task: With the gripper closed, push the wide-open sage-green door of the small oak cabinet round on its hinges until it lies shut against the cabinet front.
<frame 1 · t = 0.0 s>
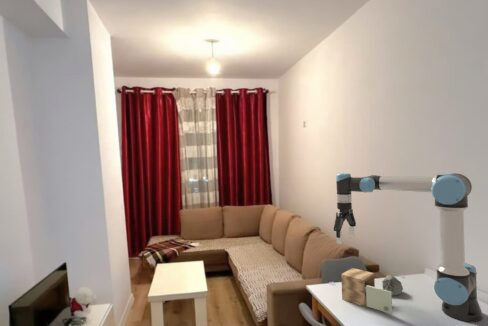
hand: (345, 240, 166), 28 cm above the table, fingers open, 13 cm apart
cabinet: (358, 298, 158), on the table
door: (377, 299, 144), point 6 cm above the table, hinge at 88.0°
stone: (392, 293, 163), on the table
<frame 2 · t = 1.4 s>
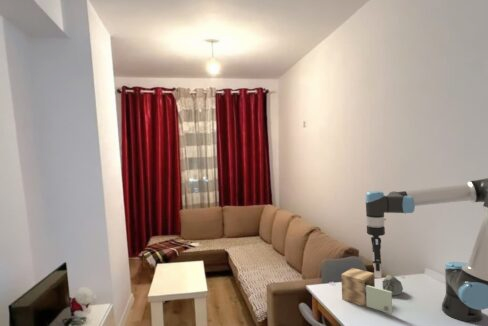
hand: (377, 272, 139), 21 cm above the table, fingers open, 13 cm apart
nothing on the table moved.
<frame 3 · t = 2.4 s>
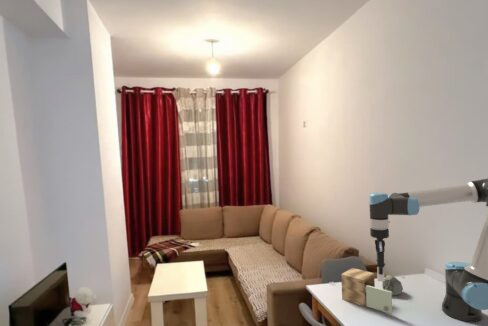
hand: (380, 280, 136), 18 cm above the table, fingers closed
nothing on the table moved.
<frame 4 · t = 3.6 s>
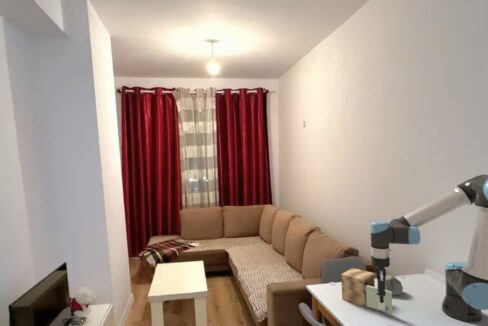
hand: (381, 308, 136), 6 cm above the table, fingers closed
nothing on the table moved.
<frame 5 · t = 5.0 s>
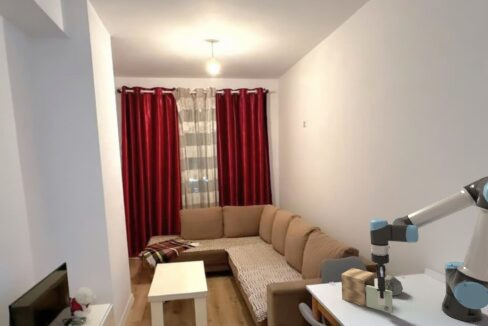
hand: (381, 304, 141), 5 cm above the table, fingers closed
door: (377, 299, 145), point 6 cm above the table, hinge at 85.4°, touching gripper
everything else where it was.
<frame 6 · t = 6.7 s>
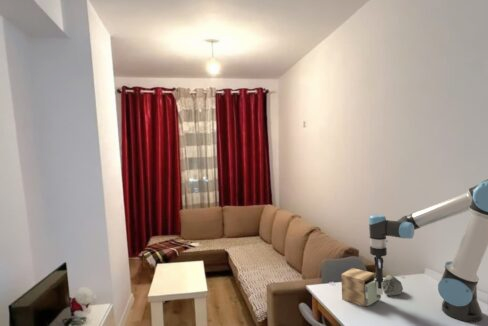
hand: (379, 293, 151), 5 cm above the table, fingers closed
door: (373, 292, 152), point 6 cm above the table, hinge at 6.3°, touching gripper
everything else where it was.
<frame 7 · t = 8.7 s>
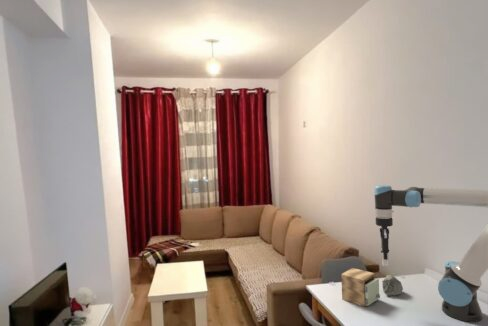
hand: (385, 265, 149), 20 cm above the table, fingers closed
door: (373, 292, 152), point 6 cm above the table, hinge at 3.9°
everything else where it was.
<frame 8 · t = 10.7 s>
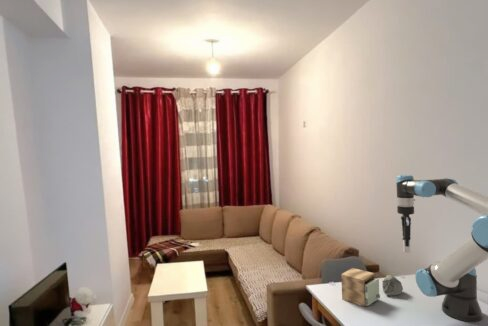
hand: (406, 252, 154), 24 cm above the table, fingers closed
nothing on the table moved.
at the end: door at +4° (first picture: +88°) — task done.
